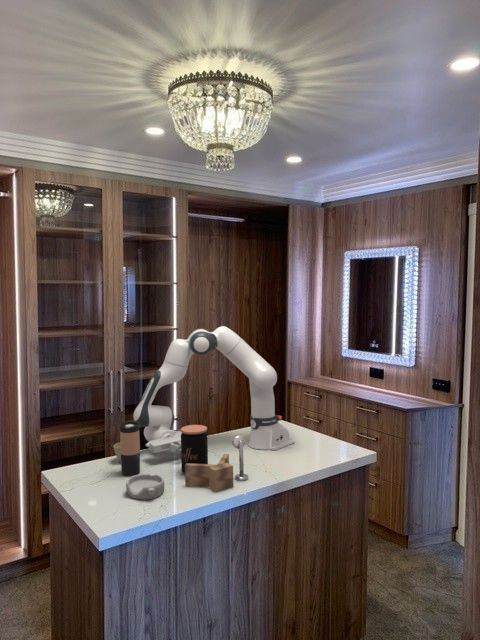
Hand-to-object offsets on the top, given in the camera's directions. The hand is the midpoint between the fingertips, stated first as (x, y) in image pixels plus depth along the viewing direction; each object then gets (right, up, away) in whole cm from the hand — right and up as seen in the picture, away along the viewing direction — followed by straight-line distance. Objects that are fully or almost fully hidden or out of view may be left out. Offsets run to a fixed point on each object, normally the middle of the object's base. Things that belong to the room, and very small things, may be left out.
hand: (180, 447), depth 204 cm
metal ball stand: (+26, -8, -17) cm, 32 cm away
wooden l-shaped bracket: (+16, -8, -22) cm, 28 cm away
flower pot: (-24, -7, +5) cm, 26 cm away
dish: (-9, -9, -28) cm, 31 cm away
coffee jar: (+7, -8, -9) cm, 14 cm away
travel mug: (-19, -8, -9) cm, 22 cm away
